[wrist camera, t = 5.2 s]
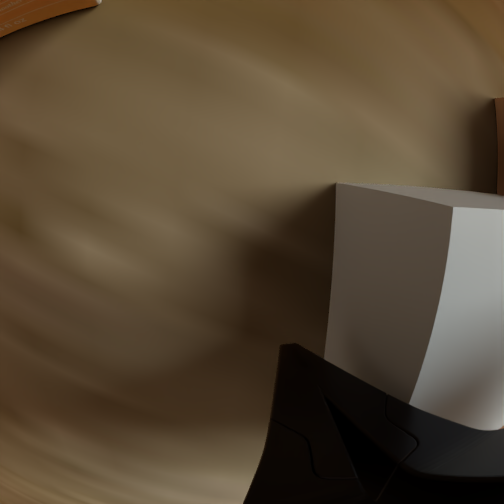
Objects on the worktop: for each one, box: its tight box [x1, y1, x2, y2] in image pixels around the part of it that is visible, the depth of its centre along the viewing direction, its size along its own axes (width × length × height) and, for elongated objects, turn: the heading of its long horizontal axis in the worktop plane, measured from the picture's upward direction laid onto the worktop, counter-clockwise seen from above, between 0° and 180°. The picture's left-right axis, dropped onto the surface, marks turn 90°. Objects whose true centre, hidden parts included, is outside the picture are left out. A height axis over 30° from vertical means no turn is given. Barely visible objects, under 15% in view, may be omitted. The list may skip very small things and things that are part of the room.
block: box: [324, 183, 504, 430], centre depth 8 cm, size 8×8×5 cm
